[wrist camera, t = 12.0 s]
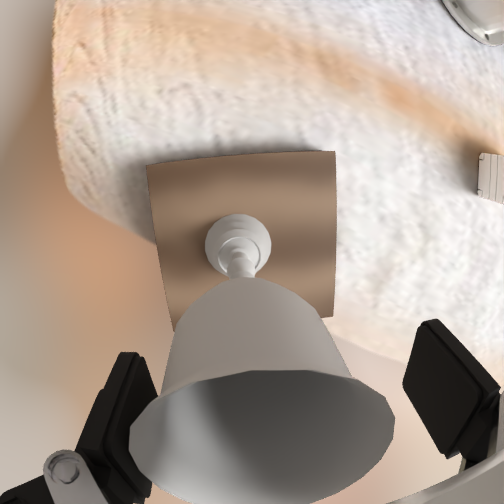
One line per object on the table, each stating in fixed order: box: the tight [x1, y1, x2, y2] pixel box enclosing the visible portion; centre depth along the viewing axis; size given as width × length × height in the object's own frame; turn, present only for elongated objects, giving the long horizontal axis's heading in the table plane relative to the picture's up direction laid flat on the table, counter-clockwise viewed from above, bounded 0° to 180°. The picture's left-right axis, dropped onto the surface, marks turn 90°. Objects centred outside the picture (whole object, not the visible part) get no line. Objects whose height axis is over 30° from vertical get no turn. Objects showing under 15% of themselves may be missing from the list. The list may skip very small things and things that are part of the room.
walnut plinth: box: [146, 151, 337, 332], centre depth 25 cm, size 14×14×3 cm
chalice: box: [129, 214, 395, 504], centre depth 15 cm, size 7×7×18 cm
